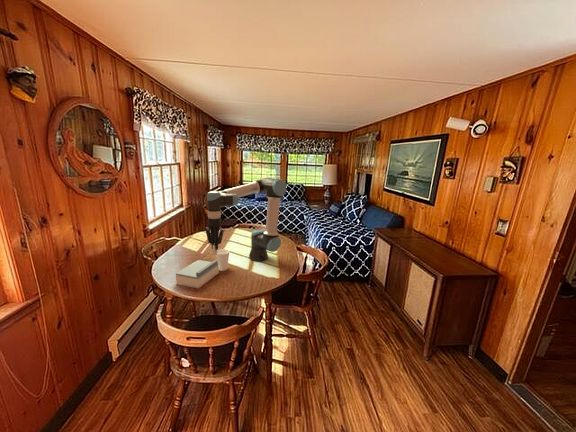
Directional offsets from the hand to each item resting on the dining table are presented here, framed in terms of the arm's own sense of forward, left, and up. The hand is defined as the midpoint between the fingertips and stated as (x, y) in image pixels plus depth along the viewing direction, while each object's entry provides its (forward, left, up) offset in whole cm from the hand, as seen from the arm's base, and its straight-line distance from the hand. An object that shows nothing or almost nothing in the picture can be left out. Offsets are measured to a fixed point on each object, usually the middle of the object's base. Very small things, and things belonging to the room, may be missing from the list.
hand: (215, 254), depth 149 cm
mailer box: (+13, 0, -19) cm, 23 cm away
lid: (+13, 0, -13) cm, 18 cm away
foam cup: (+6, -18, -19) cm, 27 cm away
